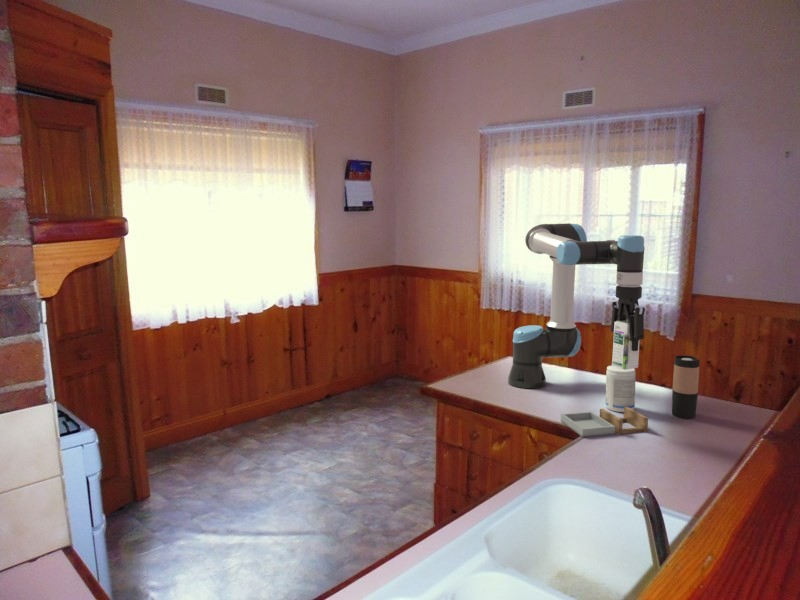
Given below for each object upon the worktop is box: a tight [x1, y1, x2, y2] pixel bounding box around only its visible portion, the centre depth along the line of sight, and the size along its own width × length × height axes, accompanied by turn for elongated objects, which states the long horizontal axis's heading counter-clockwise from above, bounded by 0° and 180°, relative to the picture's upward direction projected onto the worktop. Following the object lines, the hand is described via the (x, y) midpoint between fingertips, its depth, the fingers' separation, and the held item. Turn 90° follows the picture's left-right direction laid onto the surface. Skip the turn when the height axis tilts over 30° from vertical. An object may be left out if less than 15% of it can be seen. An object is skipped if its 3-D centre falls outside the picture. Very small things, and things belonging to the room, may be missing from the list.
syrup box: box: [611, 320, 641, 370], centre depth 175 cm, size 6×6×14 cm
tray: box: [560, 411, 616, 438], centre depth 178 cm, size 14×11×2 cm
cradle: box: [599, 407, 649, 435], centre depth 178 cm, size 11×10×4 cm
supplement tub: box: [605, 364, 636, 413], centre depth 195 cm, size 10×10×15 cm
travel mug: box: [671, 354, 701, 420], centre depth 187 cm, size 8×8×20 cm
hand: (625, 357), depth 175 cm, fingers closed on syrup box, 6 cm apart
